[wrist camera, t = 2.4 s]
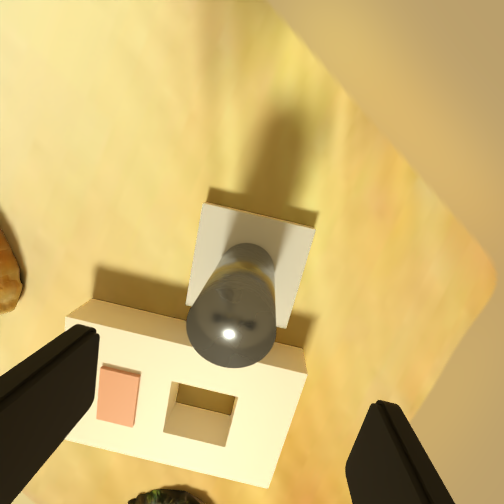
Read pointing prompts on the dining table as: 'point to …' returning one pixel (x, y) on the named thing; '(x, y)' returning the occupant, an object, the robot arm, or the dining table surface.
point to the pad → (259, 233)
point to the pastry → (8, 277)
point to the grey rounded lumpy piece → (166, 497)
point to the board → (180, 415)
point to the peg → (236, 309)
